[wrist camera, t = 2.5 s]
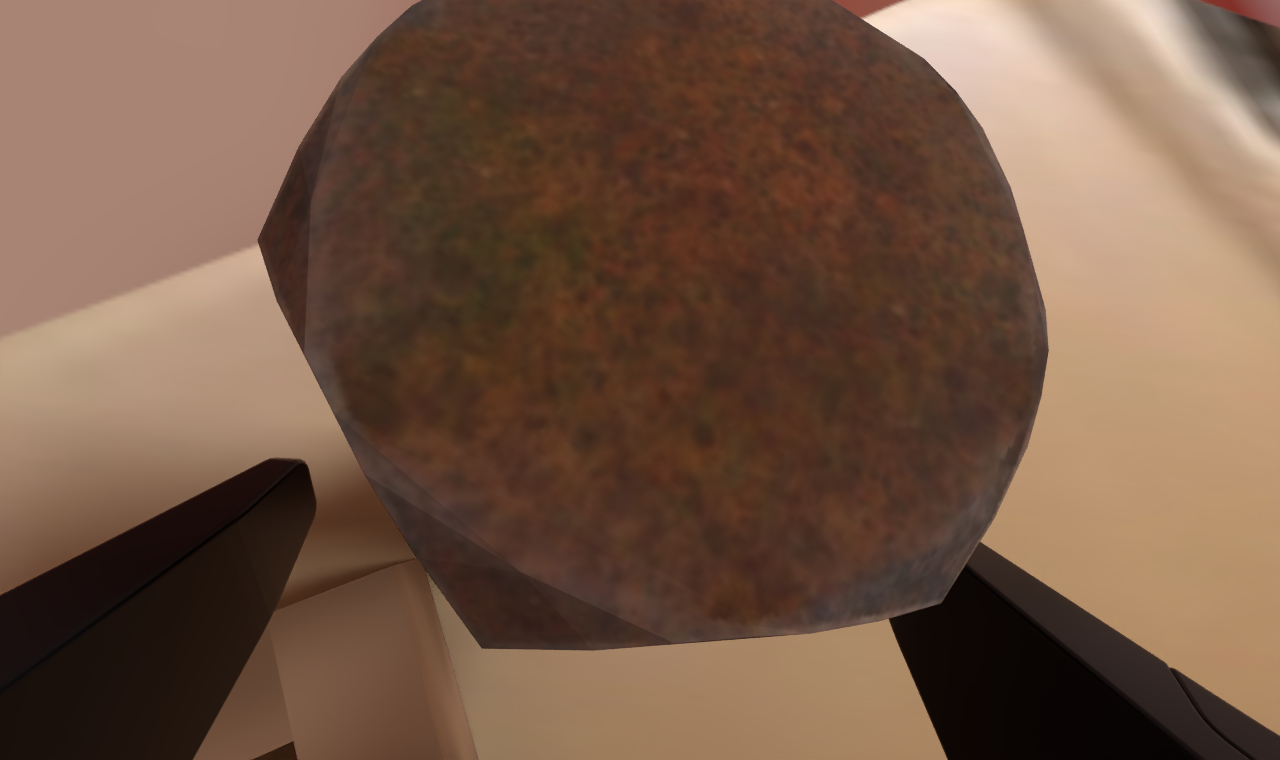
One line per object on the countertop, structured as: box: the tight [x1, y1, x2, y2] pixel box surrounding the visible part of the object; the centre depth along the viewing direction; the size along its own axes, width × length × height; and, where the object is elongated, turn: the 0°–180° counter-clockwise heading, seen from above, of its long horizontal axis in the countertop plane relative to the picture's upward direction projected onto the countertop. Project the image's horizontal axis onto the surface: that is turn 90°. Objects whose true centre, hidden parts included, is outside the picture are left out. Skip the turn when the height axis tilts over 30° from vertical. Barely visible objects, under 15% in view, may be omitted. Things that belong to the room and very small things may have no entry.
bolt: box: [258, 0, 1049, 650], centre depth 10 cm, size 6×5×15 cm
